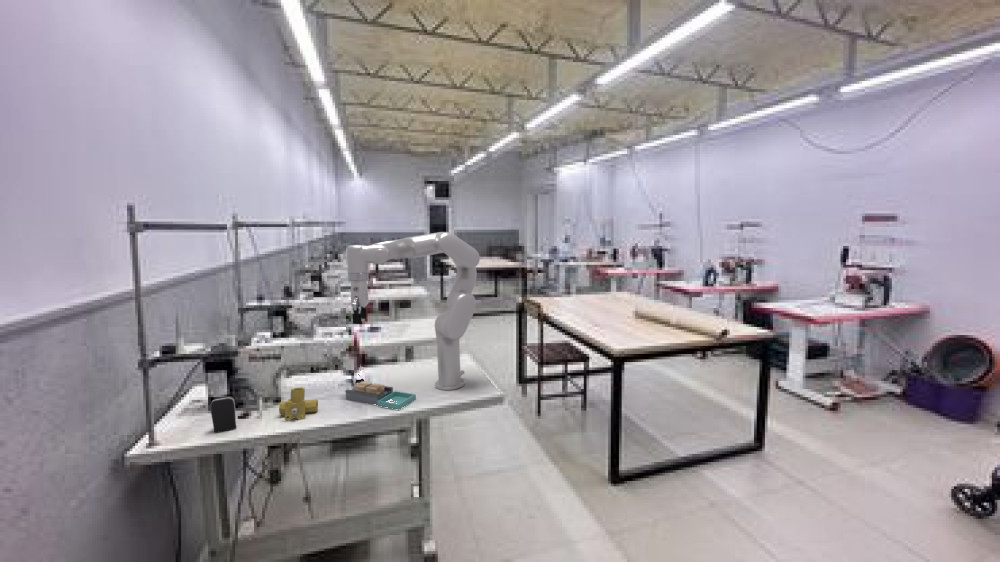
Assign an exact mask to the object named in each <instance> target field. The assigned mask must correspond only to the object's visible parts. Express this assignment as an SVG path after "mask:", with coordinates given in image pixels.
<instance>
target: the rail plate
mask: <svg viewBox="0 0 1000 562" xmlns="http://www.w3.org/2000/svg"><path fill="white" fill-rule="evenodd" d="M344 391H345V400H346V401H351V402H357V403H361V404H366V403H368V405H372V404H376V405H375V406H377V401H378V400H380V399H382V398H384V397H385V396H387V395H389V394H391V393H392V392H394V387H393V386H387V385H384V391H383V392H381V393H379V394H373V393H367V392H361V391H356V390H354V388H352V389H350V388H348V389H345V390H344Z"/></svg>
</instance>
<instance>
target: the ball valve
mask: <svg viewBox="0 0 1000 562" xmlns="http://www.w3.org/2000/svg"><path fill="white" fill-rule="evenodd" d="M305 389H306V388H305V387H303V386H302V387H301V386H300V387H293V388H291V389H290V398H289V399H288V400H285V401H280V402H279V407H278V408H279V409H278V414H280V415H284V420H285V421H287V422H289V421H291V420H292V419H295V418H296V419H298V420H300V421H301V420H305V419H306V414H308V413H317V412H318V410H319V409H318V408H319V400H318V399H308V400H307V399H306V400H305Z"/></svg>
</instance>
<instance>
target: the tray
mask: <svg viewBox="0 0 1000 562" xmlns="http://www.w3.org/2000/svg"><path fill="white" fill-rule="evenodd" d="M390 399H392V400H393V401H390V402H394V401H395V402H394V403H389V402H386V401H388V400H390ZM414 400H415V401H416V400H417V395H416V394H415V393H410V392H409V393H408V392H403V391H397V390H393V392H392V393H391V394H389V395H387V396H385V397H384V398H382V399H380V400H378V401H377V405H378V406H382V407H388V408H393V409H401V408H402V407H404V406H405V407H406V405H407V404H408V405H410V404H411V402H412V401H413V402H415V401H414ZM396 401H397V402H396ZM413 402H412V403H413ZM396 403H397V404H396ZM409 403H410V404H409ZM377 405H376V406H377ZM408 405H407V406H408ZM378 406H377V407H378ZM382 407H381V408H382ZM405 407H404V408H405ZM388 408H387V409H388ZM393 409H392V410H393ZM402 409H403V408H402ZM402 409H401V410H402Z"/></svg>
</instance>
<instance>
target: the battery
mask: <svg viewBox="0 0 1000 562" xmlns="http://www.w3.org/2000/svg"><path fill="white" fill-rule="evenodd" d="M236 414H237V413H236V402H235V398H234V397H233V396H231V395H229V396H221V397H216V398H214V399H213V400H212V401H211V403H210V415H211V418H212V426H213V433H221V431H222V432H226V430H227V431H230V430H231V429H232V430H235V428H236V429H237V419H236ZM232 430H231V431H232Z"/></svg>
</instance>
